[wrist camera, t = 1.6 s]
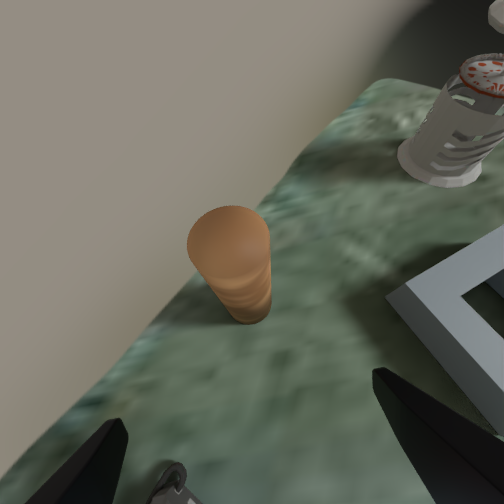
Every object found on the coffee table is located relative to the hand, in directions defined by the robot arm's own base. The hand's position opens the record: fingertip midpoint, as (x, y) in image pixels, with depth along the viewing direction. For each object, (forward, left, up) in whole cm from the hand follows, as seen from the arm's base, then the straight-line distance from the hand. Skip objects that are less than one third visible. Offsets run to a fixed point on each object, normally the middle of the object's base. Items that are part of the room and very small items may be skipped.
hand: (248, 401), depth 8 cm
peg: (+2, +7, -13) cm, 15 cm away
